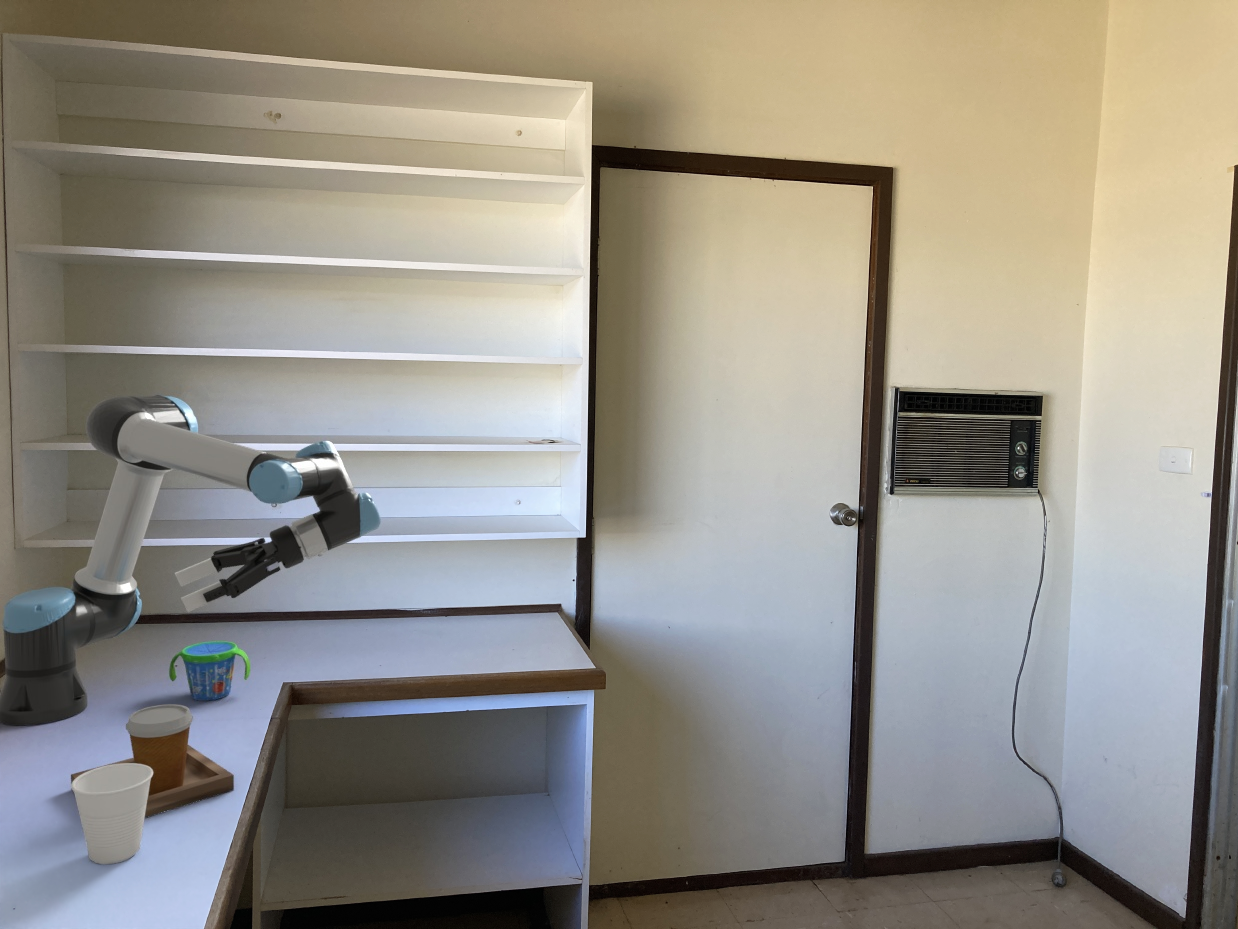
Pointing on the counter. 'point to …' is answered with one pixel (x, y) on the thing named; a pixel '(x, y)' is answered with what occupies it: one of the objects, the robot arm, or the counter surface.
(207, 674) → the snack cup
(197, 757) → the tray
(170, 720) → the disposable coffee cup
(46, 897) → the counter surface
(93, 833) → the cup
